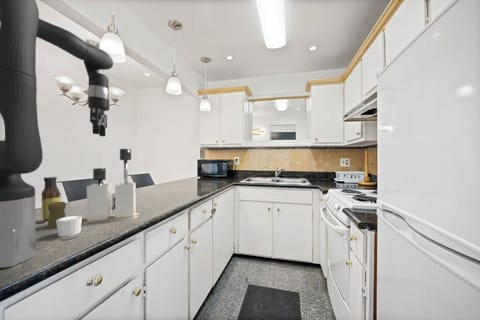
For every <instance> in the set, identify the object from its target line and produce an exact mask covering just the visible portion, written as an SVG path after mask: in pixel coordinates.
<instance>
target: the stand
mask: <svg viewBox="0 0 480 320" xmlns="http://www.w3.org/2000/svg"><path fill="white" fill-rule="evenodd" d="M139 214H140V211H136V214H135V216H134V217H133V218H124V219H115V214H111V217H110V218H109V219H108V220H105V221H96V222H87V219H85V221H83V222H81V225H86V224H94V223H103V222H104V223H105V222H106V223H107V222H114V221H115V222H116V221H123V220H125V221H126V220H132V219H138V217H139Z"/></svg>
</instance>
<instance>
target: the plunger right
mask: <svg viewBox="0 0 480 320" xmlns="http://www.w3.org/2000/svg"><path fill="white" fill-rule="evenodd" d="M119 161H123V183H124V185H127V184H128V183H129V182H128V181H129V180H128V161H132V149H130V148H120V149H119Z"/></svg>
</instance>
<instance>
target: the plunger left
mask: <svg viewBox="0 0 480 320" xmlns="http://www.w3.org/2000/svg"><path fill="white" fill-rule="evenodd" d="M106 169H107V168H105V167H103V168H101V167H99V168H92V173H93V174H92V177H93V178H92V179H93V181H97V184H98V186H102V184H103V183H102V181H105V180H107V177H106V176H107V175H106V171H107V170H106Z"/></svg>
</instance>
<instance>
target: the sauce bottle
mask: <svg viewBox="0 0 480 320" xmlns="http://www.w3.org/2000/svg"><path fill="white" fill-rule="evenodd" d="M57 179H58V178H57V176H47V177H46V176H45V177H43V181H44V188H43V190H42V191H41V215H42V222H43V223H48V219H49V213H50V211H49V210H48V205H49V204H50V203H53V202H62V194H61V191H60V190H59V188H58V186H57Z"/></svg>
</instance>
